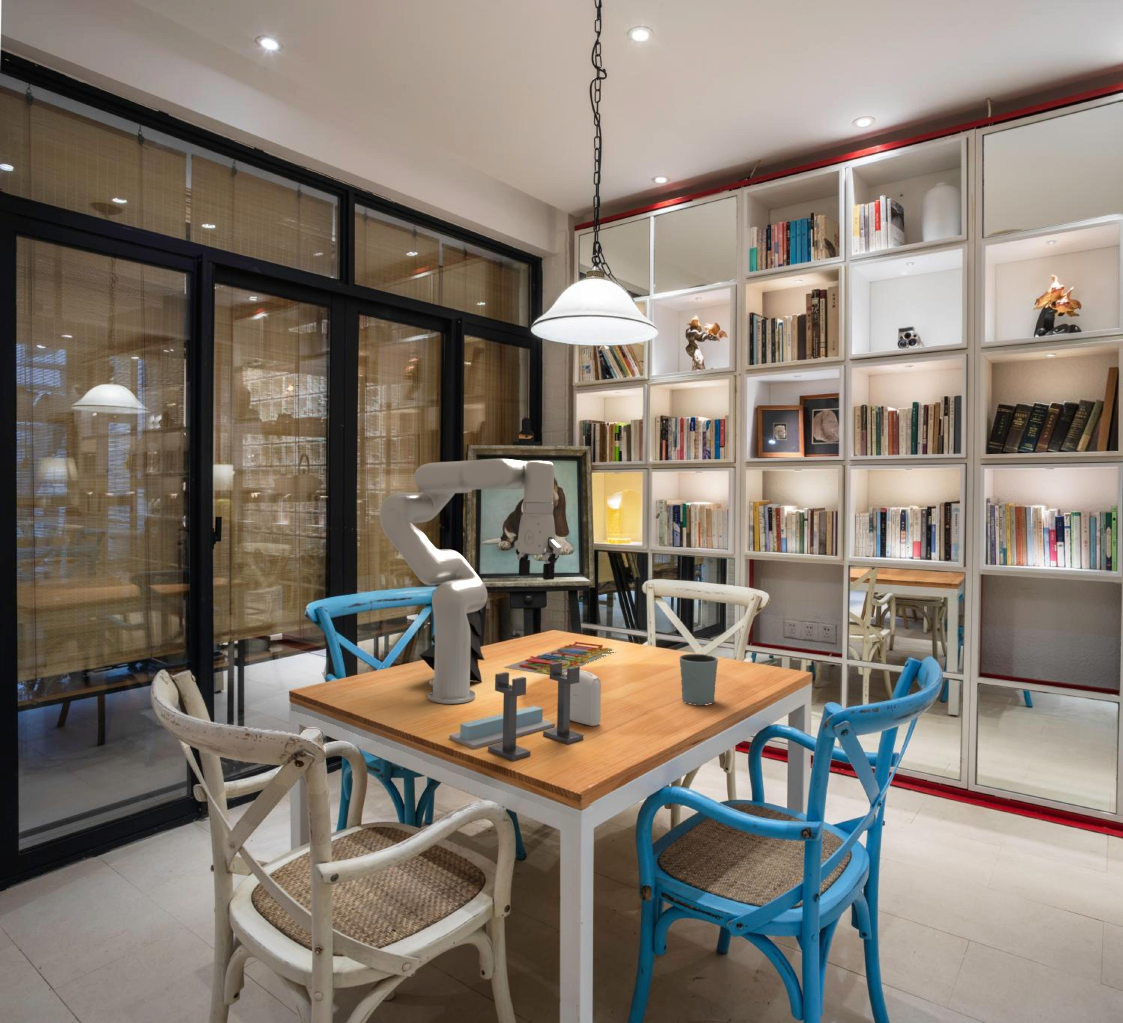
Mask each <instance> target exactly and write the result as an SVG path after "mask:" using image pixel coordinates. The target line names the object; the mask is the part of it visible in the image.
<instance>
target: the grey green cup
mask: <svg viewBox="0 0 1123 1023" xmlns="http://www.w3.org/2000/svg"><path fill="white" fill-rule="evenodd" d="M718 662H719V659H718V658H717V657H716V656H714V655H709V654H704V653H687V654H683V655H680V656H679V667H680V678H681V680H680V681H681V699H682V702H683V701H684V702H686V703H685V704H687V703H691V704H696V705H705V704H709V703H713V702H714V703H715V695H716V694H715V693H716V682H717V681H716V680H717V670H718ZM684 702H683V703H684ZM714 703H713V704H714ZM696 705H695V706H696Z"/></svg>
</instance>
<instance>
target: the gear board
mask: <svg viewBox="0 0 1123 1023" xmlns="http://www.w3.org/2000/svg"><path fill="white" fill-rule="evenodd" d="M612 650H613V649H612V648H611V647H610V648H609V647H604V645H603V644H596V643H595V644H594V643H589V642H588V643H586V642H580V641H579V642H578V641H574V643H573V644H568V645H567V644H566V645H564V646H561V647H559V648H556V649H553V650H552V651H547V652H545V653H542V654H539V655H538V654H537V655H536V656H533V655H531V656H529V658H526V659H525V660H521V661H518V662H516V663H512V664H509V665H507V666H504V667H503V668H504V669H509V670H516V671H523V672H529V673H536V674H543V675H549V676H550V664H551V663H556V662H562V674H566V672H567V668H570V667H575V666H578V667H582V666H585V665H587V664H590V663H592V662H595V661H598V660H600V659H602V658H601V657H603V658H605V657H607V656H606V655H602V654H610V655H612V654H611V653H613V654H615V653H614V652H610V651H612ZM608 651H609V652H608ZM604 656H605V657H604ZM599 658H600V659H599ZM597 659H598V660H597ZM594 660H595V661H594ZM589 662H590V663H589ZM586 663H587V664H586Z"/></svg>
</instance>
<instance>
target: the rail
mask: <svg viewBox="0 0 1123 1023" xmlns="http://www.w3.org/2000/svg"><path fill="white" fill-rule="evenodd" d="M543 710H544V709H543V708H542V707H538V706H535V705H533V706H529V707H524V708H521V709H517V717H516V728H518V727H522V726H526V725H530V724H534V723H537V722H541V721H542V719H543V712H544V711H543ZM459 726H460V727H459V729H460V730H459V733H460V737H461V738H463V739H466V740H468V741H469V740H472V739H476V738H480V737H484V736H488V735H492V734H495V733H499V732H503V713H500V714H494V715H492V716H487V717H483V718H478V719H475V720H471V721H470V720H469V721H467V722H463V723H460V724H459Z"/></svg>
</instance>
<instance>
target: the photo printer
mask: <svg viewBox="0 0 1123 1023" xmlns="http://www.w3.org/2000/svg"><path fill="white" fill-rule="evenodd" d="M565 674H566V675H567V672H565ZM601 688H602V683H601V680H600V678H599V677H598V676H597V675H596V674H593V673H592V672H590V671H586V670H583V669H580V675H579V683H574V684H570V721H571V722H576V723H579V724H583V725H587V726H591V727H597V726H598V725H599V724H600V722H601V714H602V713H601V709H602V708H601V702H602V701H601V700H602V699H601V698H602V697H601V695H602V690H601Z"/></svg>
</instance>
